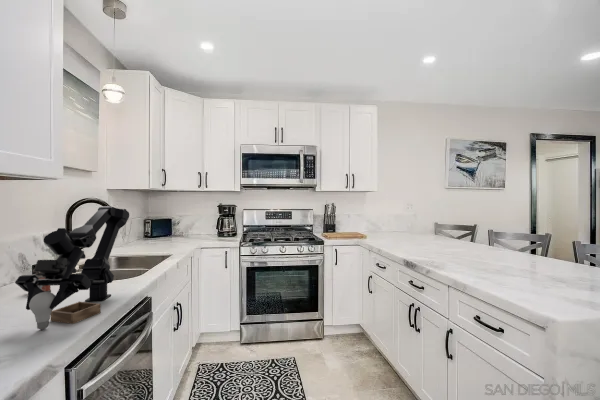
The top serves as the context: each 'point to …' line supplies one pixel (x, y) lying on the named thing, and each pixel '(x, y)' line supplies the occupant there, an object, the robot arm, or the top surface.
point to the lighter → (38, 274)
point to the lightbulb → (42, 308)
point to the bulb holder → (75, 312)
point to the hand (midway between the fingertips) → (39, 308)
